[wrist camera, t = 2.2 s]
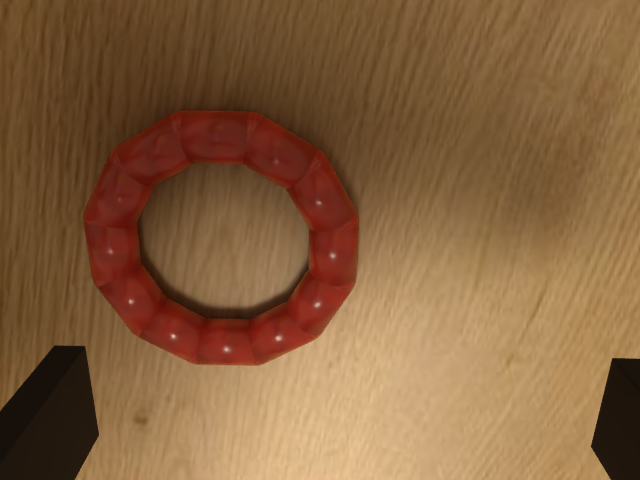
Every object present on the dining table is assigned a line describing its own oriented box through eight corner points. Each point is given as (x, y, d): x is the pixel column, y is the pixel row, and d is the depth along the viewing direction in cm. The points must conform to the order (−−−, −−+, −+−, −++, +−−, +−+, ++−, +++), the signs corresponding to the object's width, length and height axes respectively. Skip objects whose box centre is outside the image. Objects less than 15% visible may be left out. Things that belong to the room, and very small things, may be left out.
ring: (113, 346, 26) (97, 372, 24) (80, 104, 22) (58, 112, 20) (351, 351, 26) (353, 376, 24) (362, 109, 22) (365, 118, 20)
